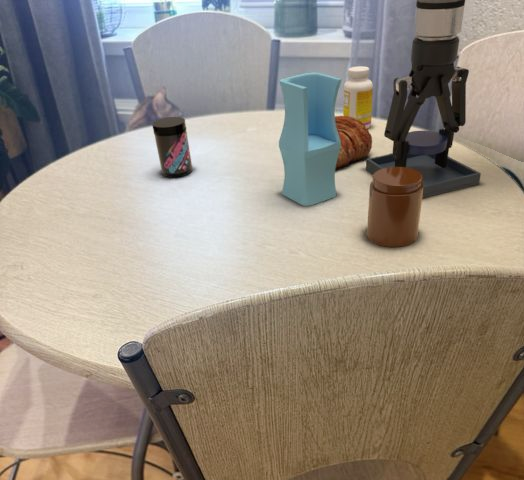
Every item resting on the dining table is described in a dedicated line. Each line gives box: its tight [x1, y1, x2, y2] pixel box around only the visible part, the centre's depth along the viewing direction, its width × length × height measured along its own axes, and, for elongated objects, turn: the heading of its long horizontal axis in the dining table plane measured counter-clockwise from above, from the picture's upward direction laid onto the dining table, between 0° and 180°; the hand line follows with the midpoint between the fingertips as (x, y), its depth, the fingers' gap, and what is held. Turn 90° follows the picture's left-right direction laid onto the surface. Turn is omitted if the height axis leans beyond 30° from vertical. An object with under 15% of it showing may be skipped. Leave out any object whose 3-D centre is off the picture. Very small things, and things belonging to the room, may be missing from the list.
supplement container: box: [151, 116, 193, 178], centre depth 111 cm, size 7×7×10 cm
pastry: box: [335, 115, 373, 171], centre depth 112 cm, size 17×15×8 cm
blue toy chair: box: [278, 71, 343, 207], centre depth 94 cm, size 8×8×20 cm
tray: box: [365, 153, 482, 199], centre depth 103 cm, size 17×14×2 cm
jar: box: [366, 167, 424, 248], centre depth 83 cm, size 8×8×10 cm
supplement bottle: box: [342, 65, 374, 130], centre depth 125 cm, size 7×7×13 cm
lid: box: [405, 130, 447, 155], centre depth 100 cm, size 9×8×2 cm
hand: (420, 169), depth 103 cm, fingers closed on lid, 8 cm apart
